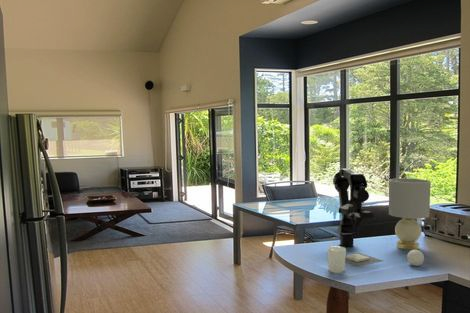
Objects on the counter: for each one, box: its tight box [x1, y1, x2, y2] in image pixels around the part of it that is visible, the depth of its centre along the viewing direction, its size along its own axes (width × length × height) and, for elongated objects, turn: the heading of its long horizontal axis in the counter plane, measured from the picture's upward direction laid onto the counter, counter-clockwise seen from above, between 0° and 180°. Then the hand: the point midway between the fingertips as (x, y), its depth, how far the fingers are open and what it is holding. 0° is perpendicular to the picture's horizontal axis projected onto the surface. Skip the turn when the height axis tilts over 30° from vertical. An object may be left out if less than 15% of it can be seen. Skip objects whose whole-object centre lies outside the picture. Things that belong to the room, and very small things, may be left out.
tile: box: [346, 253, 370, 262], centre depth 227 cm, size 1×8×8 cm
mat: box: [345, 252, 384, 267], centre depth 227 cm, size 16×18×1 cm
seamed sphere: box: [406, 249, 425, 267], centre depth 219 cm, size 10×7×7 cm
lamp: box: [388, 177, 432, 251], centre depth 251 cm, size 20×20×35 cm
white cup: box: [327, 245, 347, 274], centre depth 210 cm, size 8×8×10 cm
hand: (355, 229), depth 239 cm, fingers closed
